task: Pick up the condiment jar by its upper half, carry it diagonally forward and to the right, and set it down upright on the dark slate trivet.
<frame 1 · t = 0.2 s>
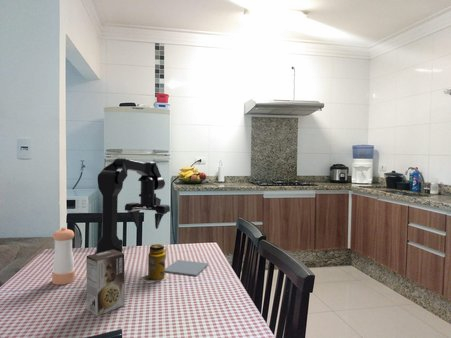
hand: (147, 227, 143), 14 cm above the table, fingers open, 9 cm apart
cookie box: (105, 308, 100), on the table
pepper shaker: (63, 281, 120), on the table
trivet: (186, 268, 136), on the table
beech cube: (160, 258, 148), on the table
condiment: (154, 278, 125), on the table
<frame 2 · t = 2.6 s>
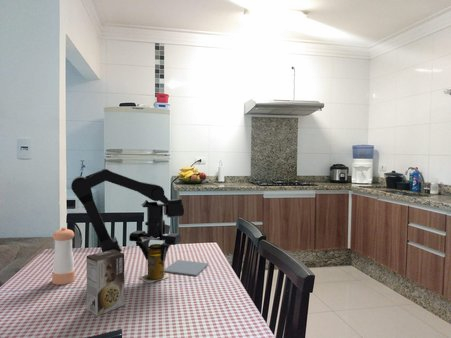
hand: (155, 260, 125), 7 cm above the table, fingers closed on condiment, 6 cm apart
condiment: (153, 278, 125), on the table, touching gripper
everything else where it was.
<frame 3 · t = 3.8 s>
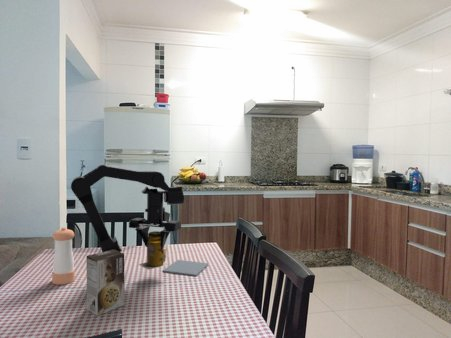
hand: (154, 247, 124), 11 cm above the table, fingers closed on condiment, 6 cm apart
condiment: (153, 265, 125), point 5 cm above the table, touching gripper
everything else where it was.
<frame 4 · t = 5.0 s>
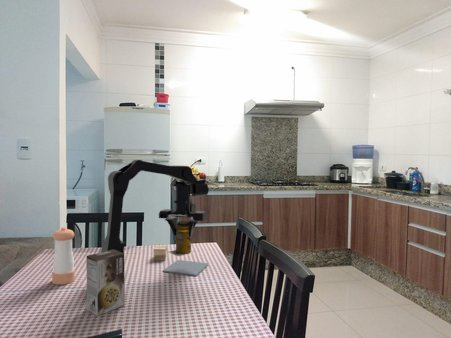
hand: (182, 236, 134), 13 cm above the table, fingers closed on condiment, 6 cm apart
condiment: (181, 252, 134), point 7 cm above the table, touching gripper
everything else where it was.
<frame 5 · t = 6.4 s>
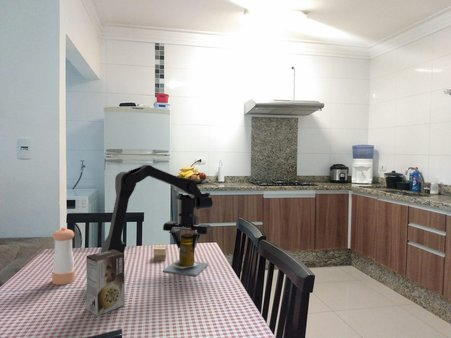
hand: (186, 248, 136), 8 cm above the table, fingers closed on condiment, 6 cm apart
condiment: (184, 265, 136), point 1 cm above the table, touching gripper
everything else where it was.
when the fingers open (8 cm above the table, at t = 7.4 s): condiment stays where it is, resting on trivet.
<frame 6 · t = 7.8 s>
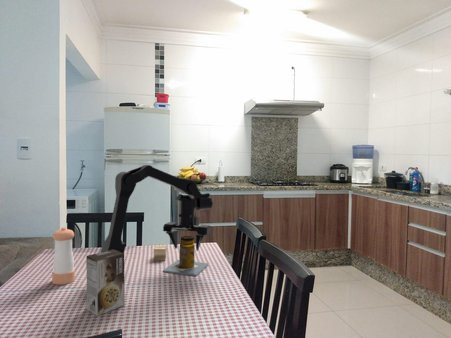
hand: (186, 249, 136), 8 cm above the table, fingers open, 9 cm apart
condiment: (184, 267, 136), resting on trivet
everything else where it was.
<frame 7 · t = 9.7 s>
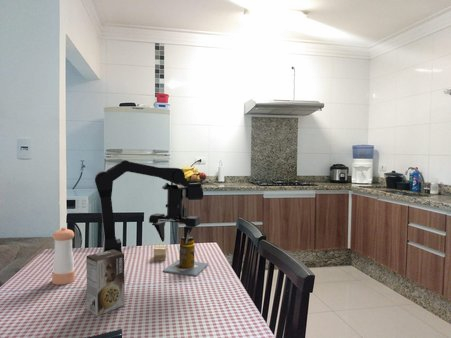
hand: (174, 242, 126), 13 cm above the table, fingers open, 9 cm apart
nothing on the table moved.
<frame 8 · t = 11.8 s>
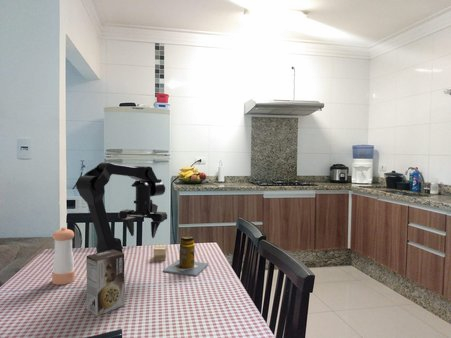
hand: (142, 236, 133), 13 cm above the table, fingers open, 9 cm apart
nothing on the table moved.
at the end: condiment inside the target area on the trivet (0.6 cm from its centre), point 0.4 cm above the trivet's base; condiment tilted 0°; the gripper is holding nothing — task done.
